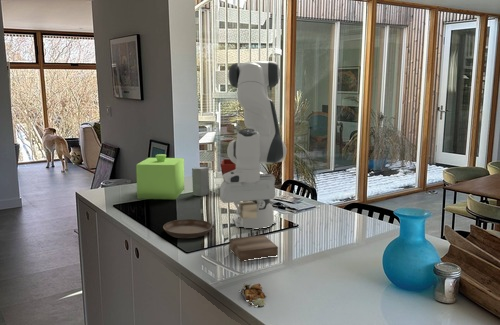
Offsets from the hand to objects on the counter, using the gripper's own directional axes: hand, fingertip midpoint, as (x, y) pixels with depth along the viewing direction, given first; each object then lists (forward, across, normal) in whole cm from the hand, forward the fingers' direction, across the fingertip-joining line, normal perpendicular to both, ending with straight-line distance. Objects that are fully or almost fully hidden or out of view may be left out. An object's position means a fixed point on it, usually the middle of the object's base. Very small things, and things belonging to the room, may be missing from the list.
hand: (247, 212), depth 164 cm
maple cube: (+2, 0, 0) cm, 2 cm away
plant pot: (+20, -30, -108) cm, 114 cm away
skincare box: (+19, -5, -99) cm, 101 cm away
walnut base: (+16, -2, -1) cm, 16 cm away
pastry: (+16, +9, +34) cm, 38 cm away
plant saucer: (+17, +16, -33) cm, 40 cm away
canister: (+19, +16, -108) cm, 111 cm away
